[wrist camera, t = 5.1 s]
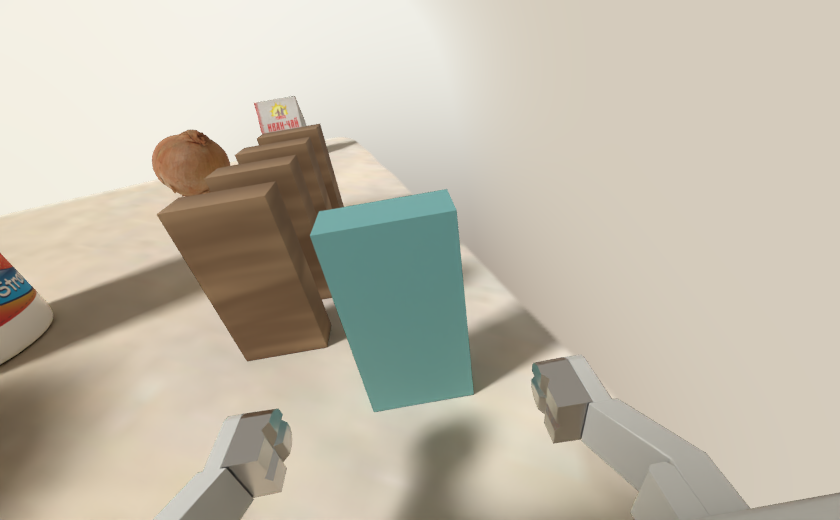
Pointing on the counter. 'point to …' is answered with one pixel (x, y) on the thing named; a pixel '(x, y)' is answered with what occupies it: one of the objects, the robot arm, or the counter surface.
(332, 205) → the domino
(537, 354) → the counter surface
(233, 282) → the domino
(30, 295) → the fruit juice
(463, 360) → the teal domino tile
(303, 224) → the domino
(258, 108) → the tea bag
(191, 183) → the onion
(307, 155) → the domino
